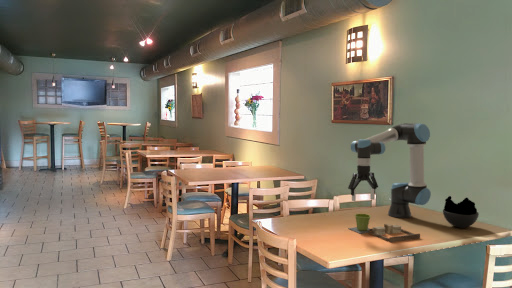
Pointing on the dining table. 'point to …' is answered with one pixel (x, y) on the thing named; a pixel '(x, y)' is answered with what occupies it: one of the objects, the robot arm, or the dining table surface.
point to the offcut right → (396, 229)
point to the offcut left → (379, 230)
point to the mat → (358, 230)
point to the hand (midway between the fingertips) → (363, 200)
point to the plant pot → (362, 221)
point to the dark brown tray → (397, 238)
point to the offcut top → (388, 228)
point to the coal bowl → (460, 213)
